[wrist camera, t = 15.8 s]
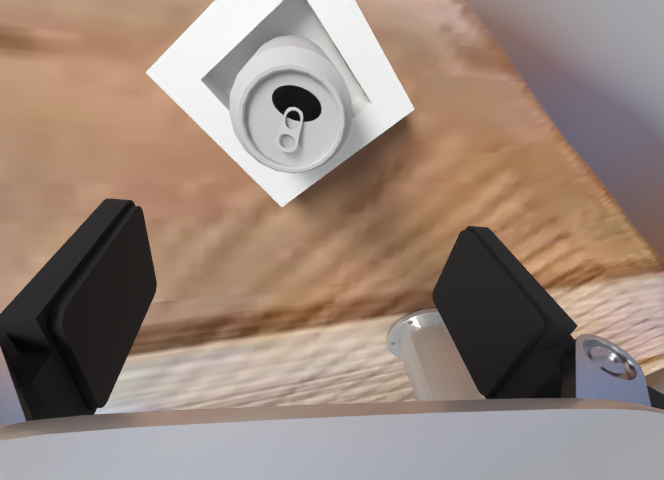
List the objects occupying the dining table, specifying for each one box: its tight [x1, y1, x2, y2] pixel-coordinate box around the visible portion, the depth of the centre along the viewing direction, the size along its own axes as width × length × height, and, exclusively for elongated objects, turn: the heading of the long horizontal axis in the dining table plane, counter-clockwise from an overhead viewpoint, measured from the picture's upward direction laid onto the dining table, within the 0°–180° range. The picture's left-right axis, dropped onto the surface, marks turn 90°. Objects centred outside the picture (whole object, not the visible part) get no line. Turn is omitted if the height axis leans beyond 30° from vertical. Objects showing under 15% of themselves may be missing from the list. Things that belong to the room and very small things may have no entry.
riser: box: [146, 0, 414, 207], centre depth 29 cm, size 15×15×6 cm
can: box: [229, 34, 353, 173], centre depth 24 cm, size 8×8×12 cm
